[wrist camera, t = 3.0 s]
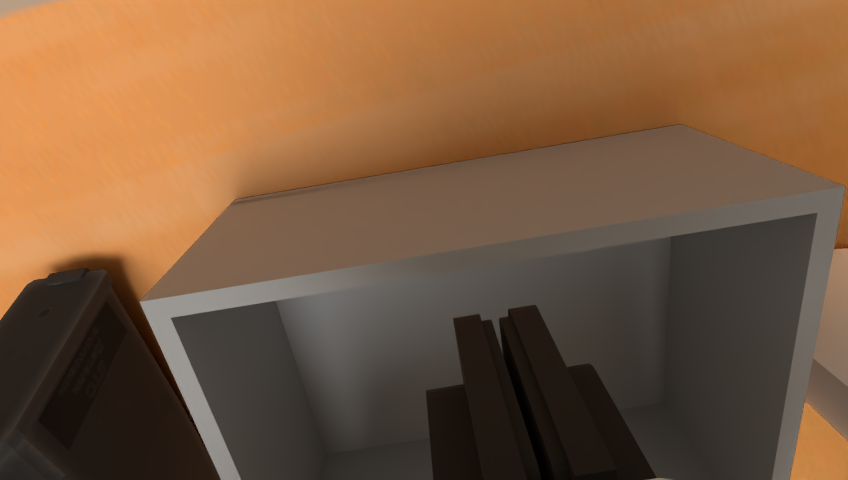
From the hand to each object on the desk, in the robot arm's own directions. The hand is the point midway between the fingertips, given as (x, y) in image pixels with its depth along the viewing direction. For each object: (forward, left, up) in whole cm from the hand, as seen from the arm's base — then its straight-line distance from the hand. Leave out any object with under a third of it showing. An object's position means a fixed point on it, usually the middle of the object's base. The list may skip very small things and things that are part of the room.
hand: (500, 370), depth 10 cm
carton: (0, +6, -11) cm, 13 cm away
